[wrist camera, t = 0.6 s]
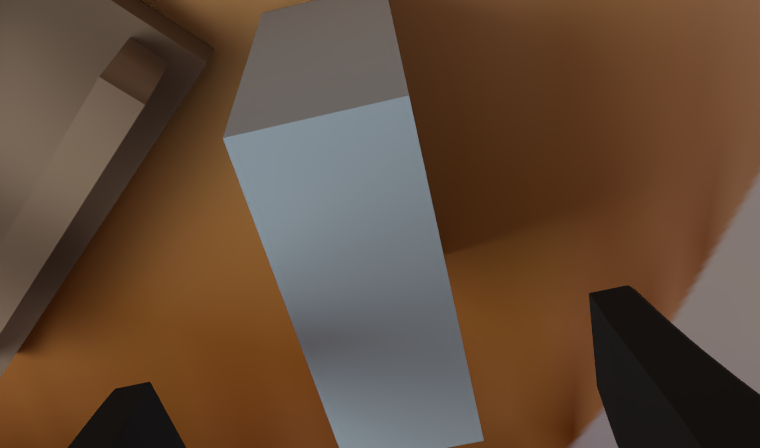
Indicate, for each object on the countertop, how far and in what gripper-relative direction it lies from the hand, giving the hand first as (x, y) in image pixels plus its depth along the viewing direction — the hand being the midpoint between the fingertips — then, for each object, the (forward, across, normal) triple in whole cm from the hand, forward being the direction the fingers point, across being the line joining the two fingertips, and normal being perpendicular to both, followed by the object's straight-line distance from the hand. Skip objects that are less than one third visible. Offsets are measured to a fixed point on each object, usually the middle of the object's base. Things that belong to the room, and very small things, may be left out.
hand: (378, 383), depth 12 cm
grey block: (+9, 0, 0) cm, 9 cm away
